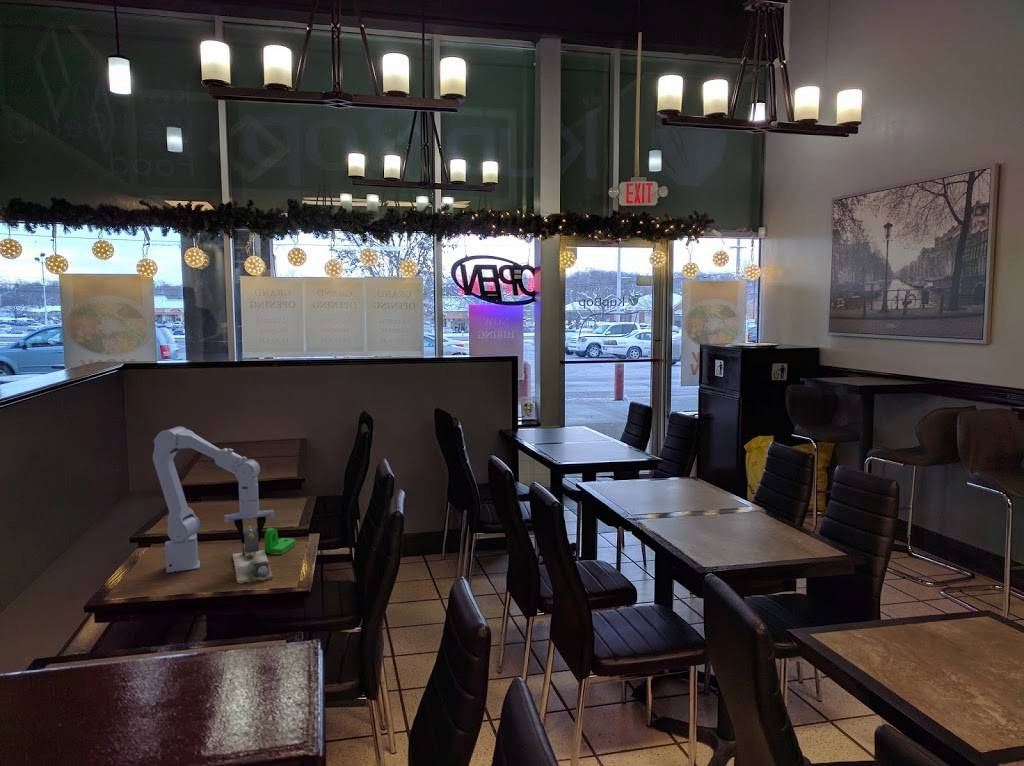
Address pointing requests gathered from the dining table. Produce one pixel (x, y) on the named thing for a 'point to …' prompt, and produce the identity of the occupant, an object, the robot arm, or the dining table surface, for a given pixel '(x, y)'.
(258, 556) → the board
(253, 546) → the grey slotted block
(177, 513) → the robot arm
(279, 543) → the mechanical part
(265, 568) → the angled shaft
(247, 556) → the metal cylinder fitting
